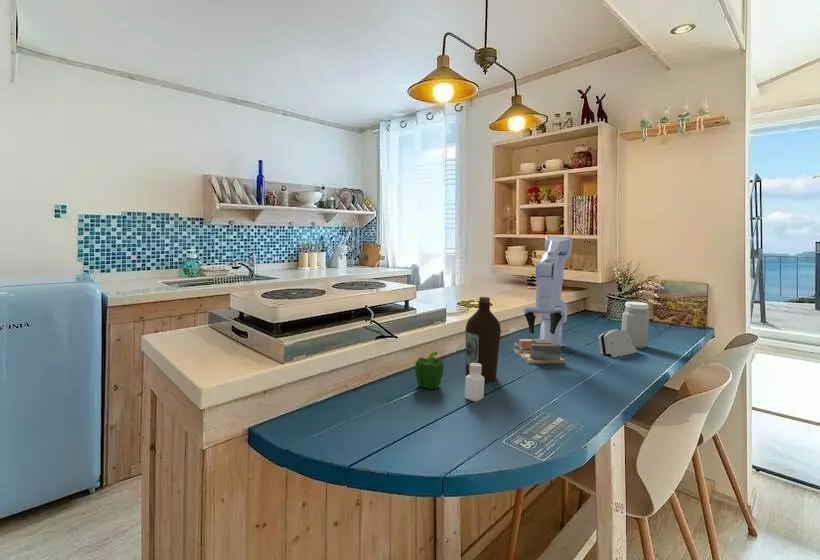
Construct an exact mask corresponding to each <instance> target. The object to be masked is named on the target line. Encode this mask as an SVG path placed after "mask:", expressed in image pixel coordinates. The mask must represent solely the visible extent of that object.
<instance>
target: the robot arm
mask: <svg viewBox="0 0 820 560" xmlns="http://www.w3.org/2000/svg"><path fill="white" fill-rule="evenodd" d="M572 247H573V238H572V237H571V236H550V235H548V236H546V237H545V240H544V251H545V253H543V256H542V258H541V260H540V261H539V263H536V265H535V283H536V290H535V291H536V292H535V305H534V306H527V307H526V306H524V307H523V306H522V313H523V315H524V316H525V319H526V322H527V325H528V330H529V333H530V334H531V335H532V334H534V333H535V321H536V317H537V316H536V315H535V314H540V315H539V317H540V321H542V323H541V324H540V329H539V330H540V331H539V339H545V340H547V341H549V342H550V343H551V344H559V345H560V346H561V347H566V344H564V343H563V342H562V335H563V324H565V323H566V322H567V320H568V319H567V318H568V305H567V303H566V302H565V301H563V299H562V292H563V291H562V290H563V281H564V272H565V271H564V270H565V263H566V261H567V259H570V258H571V255H572V249H573V248H572Z"/></svg>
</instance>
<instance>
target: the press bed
mask: <svg viewBox="0 0 820 560" xmlns="http://www.w3.org/2000/svg"><path fill="white" fill-rule="evenodd" d="M512 351H513V352H514V353H516V354H517V355H518V356H519V357H520V356H521V357H520V358H522V359H523V360H524V361H525V362H526V363H527V364H565V362H566V361H565V359H564V358H562V357H561V355H562V353H561V352H562V346H560V345H559V344H531V349H523V348H522V347H521V346H520V345H519V343H517V342H514V343H513V350H512Z"/></svg>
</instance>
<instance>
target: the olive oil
mask: <svg viewBox="0 0 820 560" xmlns="http://www.w3.org/2000/svg"><path fill="white" fill-rule="evenodd" d="M478 298H479V301H478V309H477V311H475V312H474V313H473V315H471V316H470V318H469V319H467V322H466V324H465V377H466V376H467V375H469V374H470V371H469V369H470V368H469V367H470V363H479V364H481V365H482V369H481V370H482V371H481V376H483V377H484V378H485V379H484V383H489V382H494V381H495V380H496V379H497V371H498V359H499V351H500V350H499V349H500V341H501V332H502V331H501V329H502V328H501V324H500V321H499V320H498V318H497V317H496V316H495V315H494V314H493V312H492V311H491V309H490V308H491V302H490V301H491V297H488V296H480V297H478Z"/></svg>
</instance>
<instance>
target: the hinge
mask: <svg viewBox="0 0 820 560" xmlns="http://www.w3.org/2000/svg"><path fill="white" fill-rule="evenodd" d="M597 338H598V344H599V345H598V347H599V352H600V355H601V354H603V355H610V356H611V358H612V357H614V358H619V357H623V356H627V355H631V354H632V355H633V354H635V353H638V350H637V349H636V347H634V346H633V344H632V341H631V338H630V335H629V332H627V331H625V330H621V329H611V330H607V331H605V332H603V333H601V334H600V335H598V337H597ZM618 356H619V357H618Z"/></svg>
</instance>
